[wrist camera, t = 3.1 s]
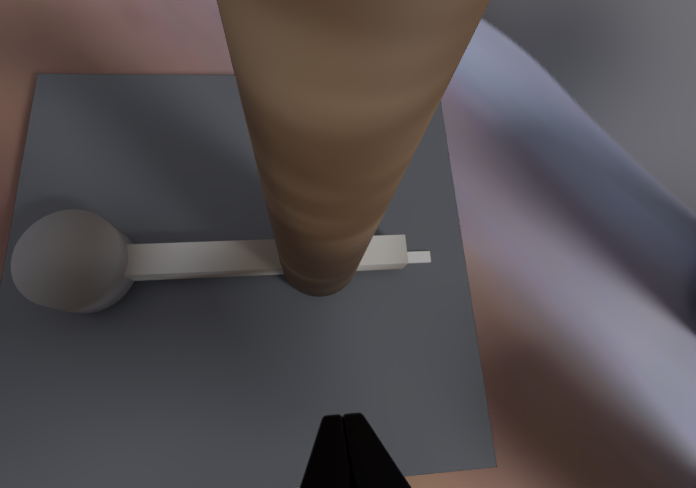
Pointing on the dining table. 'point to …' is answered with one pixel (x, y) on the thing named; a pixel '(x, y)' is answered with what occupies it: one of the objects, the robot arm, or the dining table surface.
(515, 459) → the dining table surface
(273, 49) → the lever
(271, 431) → the dial plate
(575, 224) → the dining table surface
